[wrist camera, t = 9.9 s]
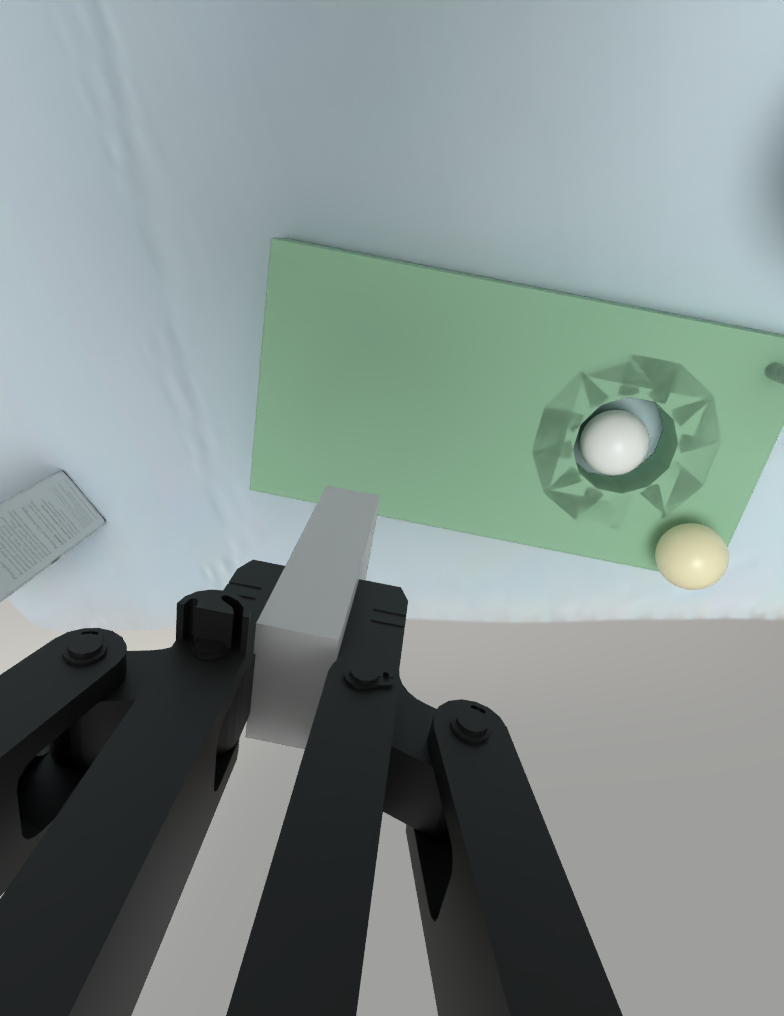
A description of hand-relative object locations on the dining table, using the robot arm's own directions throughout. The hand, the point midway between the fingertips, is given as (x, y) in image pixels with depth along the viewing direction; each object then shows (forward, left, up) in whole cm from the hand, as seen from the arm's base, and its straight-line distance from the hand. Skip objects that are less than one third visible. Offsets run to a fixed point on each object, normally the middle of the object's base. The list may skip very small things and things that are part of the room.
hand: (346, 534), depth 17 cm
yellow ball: (+5, +16, -14) cm, 22 cm away
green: (0, +6, -18) cm, 19 cm away
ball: (0, +12, -17) cm, 20 cm away
